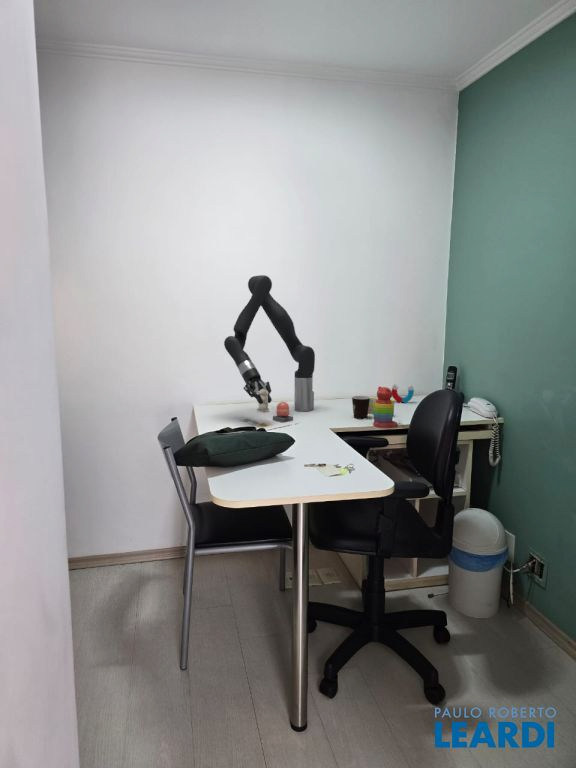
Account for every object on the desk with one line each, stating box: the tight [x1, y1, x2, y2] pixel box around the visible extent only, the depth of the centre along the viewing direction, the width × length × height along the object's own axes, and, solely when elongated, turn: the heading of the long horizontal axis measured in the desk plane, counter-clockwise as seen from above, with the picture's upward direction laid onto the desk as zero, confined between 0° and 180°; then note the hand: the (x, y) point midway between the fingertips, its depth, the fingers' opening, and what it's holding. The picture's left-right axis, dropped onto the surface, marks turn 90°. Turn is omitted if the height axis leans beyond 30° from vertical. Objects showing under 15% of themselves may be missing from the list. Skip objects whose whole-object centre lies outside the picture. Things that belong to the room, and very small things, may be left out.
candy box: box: [368, 396, 395, 417], centre depth 277 cm, size 16×2×8 cm, turn 54°
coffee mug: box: [351, 395, 370, 420], centre depth 271 cm, size 12×9×10 cm
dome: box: [276, 401, 290, 416], centre depth 260 cm, size 6×6×6 cm
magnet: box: [391, 383, 415, 404], centre depth 306 cm, size 12×3×10 cm, turn 74°
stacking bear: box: [372, 386, 399, 429], centre depth 254 cm, size 11×10×18 cm
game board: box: [238, 414, 299, 432], centre depth 258 cm, size 26×22×3 cm
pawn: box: [256, 389, 270, 413], centre depth 250 cm, size 6×6×10 cm
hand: (266, 402), depth 248 cm, fingers closed on pawn, 4 cm apart
